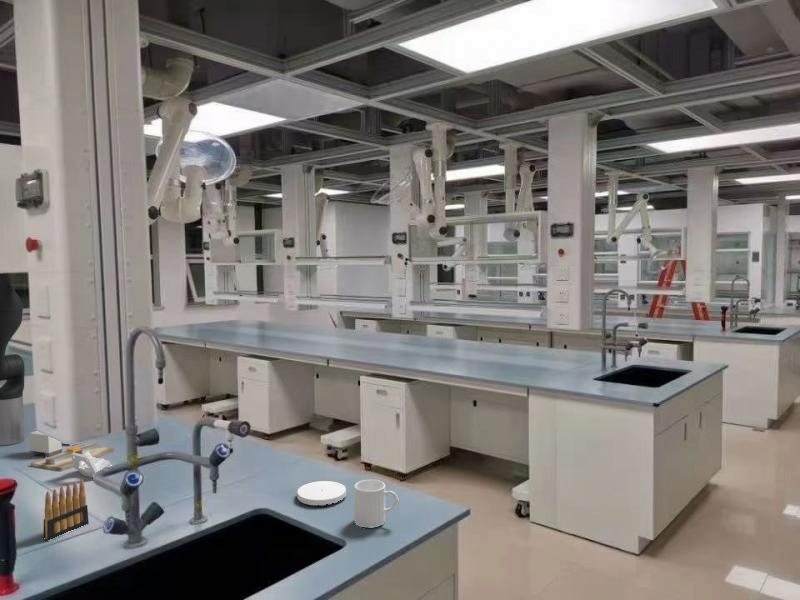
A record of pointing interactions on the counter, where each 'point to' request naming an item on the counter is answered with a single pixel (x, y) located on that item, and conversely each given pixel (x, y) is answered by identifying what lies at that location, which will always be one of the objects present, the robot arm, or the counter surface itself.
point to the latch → (73, 449)
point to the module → (44, 444)
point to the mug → (371, 502)
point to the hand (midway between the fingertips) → (66, 393)
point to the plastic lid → (321, 493)
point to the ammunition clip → (65, 511)
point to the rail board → (69, 462)
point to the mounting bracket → (89, 463)
